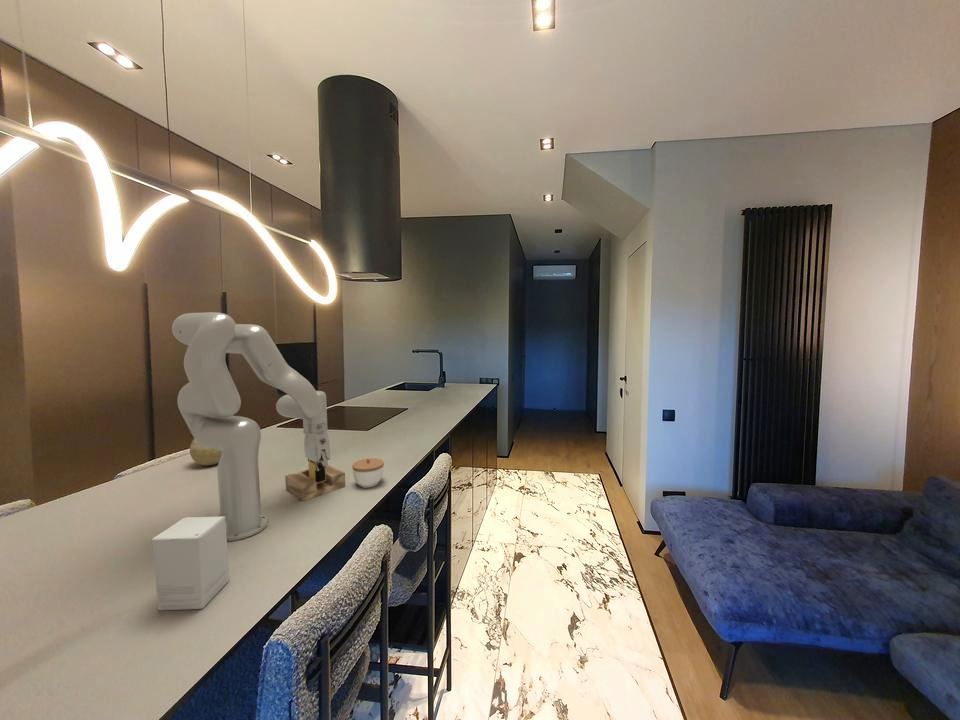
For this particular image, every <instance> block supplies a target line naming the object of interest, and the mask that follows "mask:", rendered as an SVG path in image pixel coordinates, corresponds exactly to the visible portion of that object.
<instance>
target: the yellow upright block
mask: <svg viewBox="0 0 960 720" xmlns="http://www.w3.org/2000/svg"><path fill="white" fill-rule="evenodd" d="M319 461H321V459H320V460H319ZM320 464H322V463H319V465H320ZM308 469H309V478H311V479H313V480H315V481H316V478H315V471H317V470H316V463H315V462H314V461H309V466H308ZM324 481H326V469H325V480H324ZM321 482H323V481H321ZM318 483H320V482H318ZM316 484H317V482H316Z"/></svg>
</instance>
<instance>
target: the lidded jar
mask: <svg viewBox="0 0 960 720" xmlns="http://www.w3.org/2000/svg"><path fill="white" fill-rule="evenodd" d="M384 464H385V461H384V460H383V459H380V458H375V457H372V458H371V457H370V458H369V457H368V458H363V459H359V460H357V461H354V462H353V463H352V464H351V465H352V466H351V467H352V474H353V479H354V481H355V483H356V484H357V485H359V486H360V488H363V489H368V488H369V489H370V488H374V487H376V486H378V484H379V482H380V481H381V480H382V478H383V475H384Z"/></svg>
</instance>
